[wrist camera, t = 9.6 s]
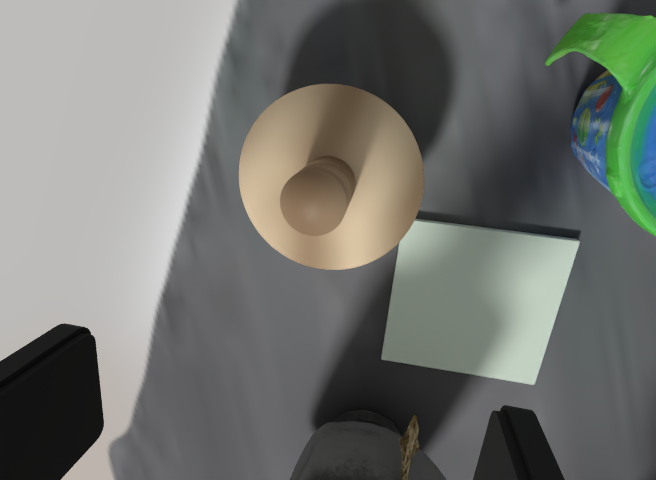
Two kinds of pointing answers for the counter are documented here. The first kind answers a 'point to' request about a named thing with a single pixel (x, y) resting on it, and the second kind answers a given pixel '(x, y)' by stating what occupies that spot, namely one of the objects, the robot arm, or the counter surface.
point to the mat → (476, 299)
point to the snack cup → (618, 108)
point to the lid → (331, 176)
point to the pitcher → (364, 451)
